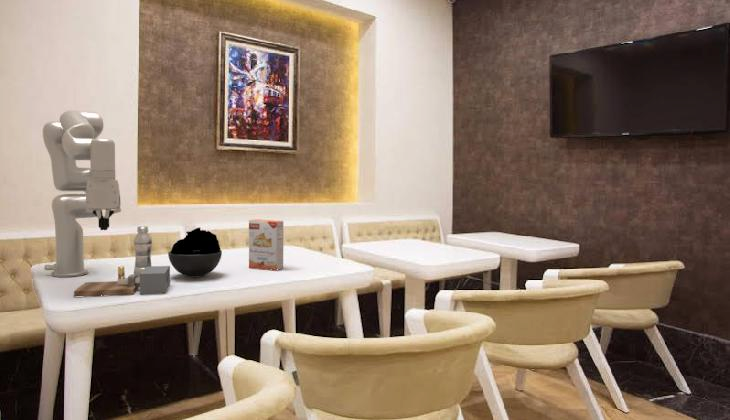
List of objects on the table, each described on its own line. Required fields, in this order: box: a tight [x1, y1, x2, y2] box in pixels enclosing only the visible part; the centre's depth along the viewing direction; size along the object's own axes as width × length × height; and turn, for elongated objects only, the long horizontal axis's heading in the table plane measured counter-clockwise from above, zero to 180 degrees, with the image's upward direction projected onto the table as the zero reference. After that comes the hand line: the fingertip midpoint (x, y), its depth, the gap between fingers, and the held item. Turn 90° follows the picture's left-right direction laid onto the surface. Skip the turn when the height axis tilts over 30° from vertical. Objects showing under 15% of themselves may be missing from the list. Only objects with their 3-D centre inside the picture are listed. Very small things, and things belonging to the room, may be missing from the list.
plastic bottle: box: [133, 226, 153, 277], centre depth 202 cm, size 6×7×20 cm
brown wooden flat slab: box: [73, 273, 140, 297], centre depth 181 cm, size 18×14×5 cm
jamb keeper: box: [139, 265, 171, 295], centre depth 185 cm, size 8×14×7 cm, turn 14°
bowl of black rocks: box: [167, 227, 223, 278], centre depth 208 cm, size 20×20×19 cm
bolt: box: [117, 265, 140, 284], centre depth 183 cm, size 12×2×6 cm, turn 104°
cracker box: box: [248, 218, 284, 271], centre depth 227 cm, size 14×6×21 cm, turn 68°
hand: (104, 229), depth 180 cm, fingers closed
